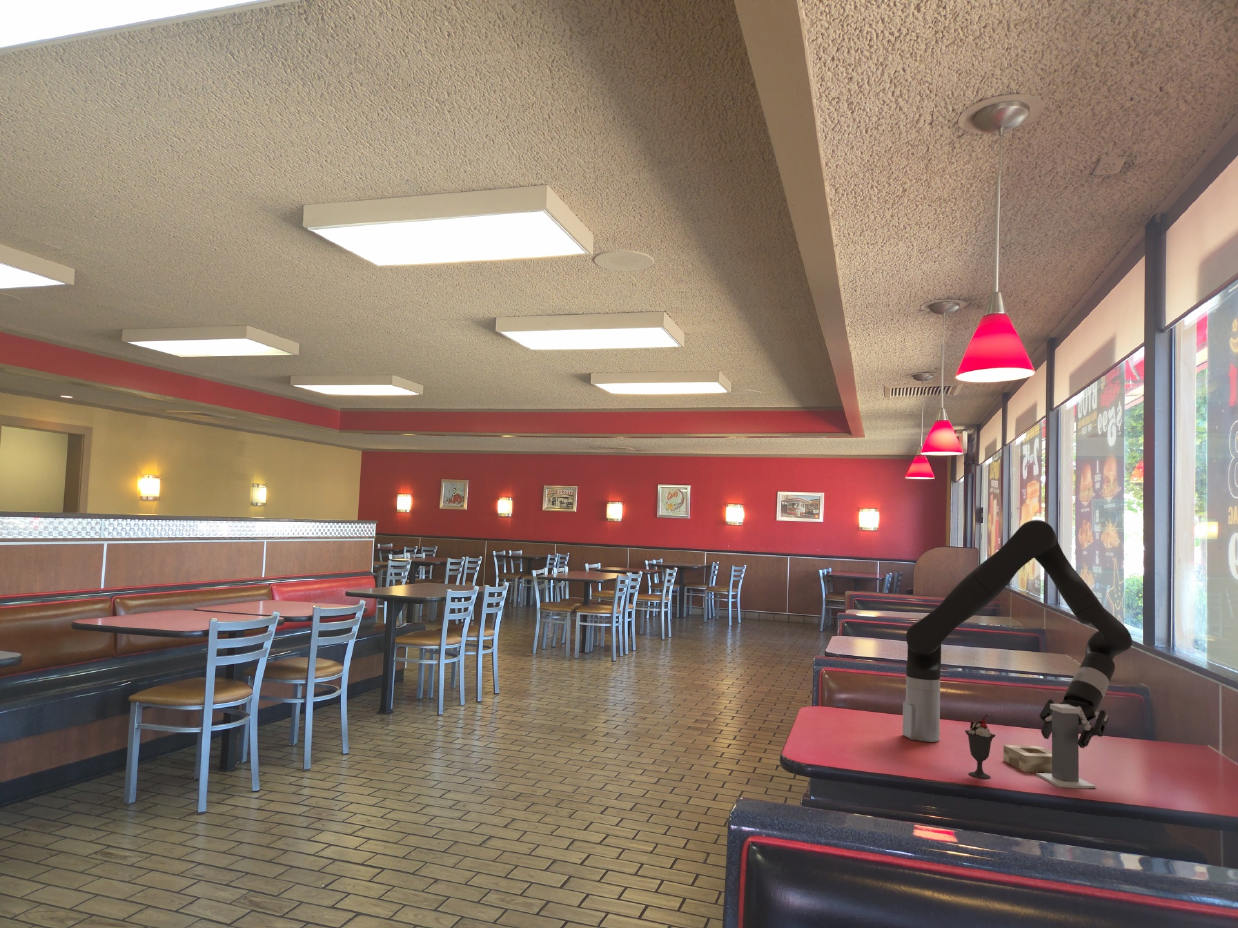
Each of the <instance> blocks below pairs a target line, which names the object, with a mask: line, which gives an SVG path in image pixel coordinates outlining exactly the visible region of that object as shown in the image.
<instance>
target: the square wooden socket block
mask: <svg viewBox="0 0 1238 928" xmlns="http://www.w3.org/2000/svg"><path fill="white" fill-rule="evenodd" d="M1003 761H1005V762H1006V763H1008V764H1009V765H1011V766H1012V767H1015V768H1017V769H1018V768H1019V769H1018V770H1020V769H1021V771H1022V770H1023V771H1022V772H1024V773H1038V772H1044V773H1052V750H1049V749H1047V748H1046V747H1043V746H1038V745H1021V744H1020V745H1019V744H1018V745H1015V744H1003Z"/></svg>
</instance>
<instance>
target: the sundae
mask: <svg viewBox="0 0 1238 928" xmlns="http://www.w3.org/2000/svg"><path fill="white" fill-rule="evenodd" d="M988 717H989V715H988V714H985V715H984V716H983V718H982V719H980V720H979V721H975V722H974V721H971V722H970V726H969V729H965V730H964V732H965V734H966V735H967V738H968V744H969V745H968V746H969V752H970V755H971V756H972V758H973V759H974V760H975V761H976V770H975V771H969V772H968V775H969V776H970V777H972V778H975V777H977V778H976V779H980V778H982V779H981V780H990V779H991V778H992V776H991V775H990V774H987V773H985V772H984V769H983V762H984V761H986V760H987V759H988V758H990V757H989V755H990V752H991V744H992V740H993V739H994V738H995V737H996V734H993V733H992V732H991V731H990V729H989V728H988V725H987V723H986V720H985V719H986V718H988ZM989 778H990V779H989Z"/></svg>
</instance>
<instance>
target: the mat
mask: <svg viewBox="0 0 1238 928" xmlns="http://www.w3.org/2000/svg"><path fill="white" fill-rule="evenodd" d="M1035 773H1036V776H1037V777H1038V778H1040V777H1042V778H1043V780H1044V779H1045V782H1046V781H1047V782H1048V781H1049V782H1048V783H1049V784H1052V785H1054V786H1055V787H1057V788H1067V789H1068V788H1070V789H1071V788H1072V789H1089V788H1096V789H1097V786H1096V785H1095V784H1092V783H1091V782H1088V781H1086V780H1084V779H1082V778H1080V777H1079V782H1063V781H1061V780H1059V779H1057V778H1055V777H1053V776H1052V773H1038V772H1035ZM1042 778H1041V779H1042Z"/></svg>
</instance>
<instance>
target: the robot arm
mask: <svg viewBox="0 0 1238 928" xmlns="http://www.w3.org/2000/svg"><path fill="white" fill-rule="evenodd" d="M1033 559H1035V561H1036V562H1038V563H1039V565H1040V566H1041V567H1042V569H1044V571H1045V572H1046V573H1047V575H1048V577H1049V578H1050V579H1051V581H1052V583H1053V584H1054V585H1055V587H1056V589H1057V591H1058V592H1059V593H1060V596H1061V597H1062V599H1063V600H1064V602H1065V603H1066V605H1067V606H1068V608H1069V609H1070V611H1071V612H1072V613H1073V615H1074V617H1075V618H1076V619H1077V621H1078V622H1079V623H1080V624H1082V625H1090V624H1091V625H1092V626H1093V627H1094V628H1095V629H1096V630H1098V631H1096V632H1094V633H1093V634H1092V635H1091V636H1090V637H1089V639H1088V641H1087V643H1086V646H1085V652H1084V658H1083V660H1082V662H1081V664H1080V666H1079V668H1078V670H1077V671H1076V673H1075V674H1074V676H1073V678H1072V679H1071V681H1070V683H1069V685H1068V687H1067V689H1066V691H1065V693H1064V696H1063V700H1062V701H1061V702H1059V703H1058V702H1054V700H1053V699H1048V700H1047V701H1046V703H1045V705H1044V707H1043V708H1042V710H1041V712H1040V713H1039V715H1038V716H1039V718H1040V720H1041V722H1042V723H1043V726H1042V727H1041V730H1040V733H1041V735H1042V737H1043V739H1045V740H1049V739H1050V737H1051V736H1052V709H1050V704H1068V705H1071V706H1074V707H1077V708H1080V714H1078V727H1079V726H1083V727H1084V730H1082V732H1081V733H1080V736H1079V737H1078V738H1079V740H1078V745H1079V748H1081V749H1085V748H1087V747H1088V746H1089V744H1090V741H1091V739H1092V738H1093V737H1094V736H1097V737H1099V738H1100V737H1103V735H1105V734H1104V733H1105V731H1106V728H1107V725H1108V723H1109V720H1110V719H1109V716H1108V714H1107V712H1106V710H1103V709H1101V710H1099V709H1100V706H1101V704H1102V702H1103V700H1104V697H1105V695H1106V693H1107V691H1108V688H1109V684H1110V682H1111V679H1112V677H1113V675H1114V673H1115V669H1116V664H1115V662H1114V659H1115V658H1116V656H1119V655H1120V654H1122V653H1124V652H1126V651H1128V650H1129V649H1130V648H1131V647H1132V645H1133V638H1132V634H1131V633H1130V631H1129V629H1128V628H1127V627H1126V626H1125V625H1124V624H1123V623H1122V622H1121V621H1120V620H1118V619H1117V618H1116V617H1115V616H1114V615H1113V614H1112V613H1111V612H1110V611H1109V610H1107V609H1106V608H1105V607H1104V606H1103V604H1102V602H1100V600H1099V599H1098V597H1097V596H1096V595H1095V593H1094V592H1093V591H1092V590H1091V588H1090V587H1089V585H1088V584H1087V583H1086V582H1085V580H1084V579H1083V578H1082V576H1080V575H1079V573H1078V572H1077V571H1076V570H1075V569H1074V567H1073V566H1072V564H1071V563H1070V561H1069V560H1068V558H1067V556H1066V555H1065V553H1064V551H1063V549H1062V547H1061V545H1060V543H1059V541H1058V540H1057V534H1056V532H1055V530H1054V528H1053V526H1052V525H1051V524H1049V523H1048V522H1047V521H1045V520H1043V519H1042V520H1041V519H1031V520H1028V521H1026V522H1024V523H1023V524H1022V525H1020V526H1019V527H1018V528H1017V530H1016V531H1015V532H1014V533H1013V535H1011V537H1010V538H1009V539H1008V540H1007V541H1006V542H1005V543H1004V544H1003V545H1002V547H1001V548H1000V549H998V550H997V551H996V552H994V553H993V554H992V555H991V556H989V557H988V558H986V559H985V560H984V561H983V562H981V563H980V564H979V565H977V567H976V568H975V569H973V570H972V571H971V572H970V573H968V574H967V575H966V576H965V577H964V578H962V580H961V581H960V582H959V583H957V584H956V586H955V587H953V589H952V590H951V591H950V592H949V594H948V595H946V597H945V598H944V599H943V600H942V602H941V603H940V604H939V605H938V606H937V607H936V608H935V609H933V610H932V611H931V612H930V613H928V614H926V616H924V617H923V618H922V619H919V621H916V622H913V623H912V624H911V625H910V626H909V627H908V629H907V631H906V634H905V642H906V644H907V655H906V656H907V657H906V667H905V670H906V672H905V675H906V676H905V679H906V680H905V700H904V701H902V735H903V736H904V737H906V738H907V739H909V740H910V741H911V740H912V741H919V742H927V743H936V742H939V741H940V740H941V739H940V735H941V731H940V728H941V725H940V721H941V719H940V718H941V717H940V716H941V715H940V713H941V670H942V669H941V668H942V643H943V641H945V640H946V639H947V637H948V636H949V635H951V633H952V632H953V631H954V630H955V629H956V628H958V626H960V625H962V624H963V623H964V622H966V621H968V620H969V619H970V618H972V617H974V616H975V615H976V614H977V613H978V612H980V611H981V610H982V609H984V608H985V607H986V606H987V605H989V604H990V603H991V602H992V601H993V600H994V599H996V598H997V597H998V596H999V595H1000V594H1001V593H1002V592H1003V591H1004V589H1005V588H1007V586H1008V584H1009V583H1010V582H1011V580H1012V579H1013V578H1014V577H1015V575H1016V574H1017V573H1018V572H1019V571H1020V569H1022V568H1023V567H1024V566H1025V565H1027V564H1028V563H1029V562H1030V561H1032V560H1033ZM1094 719H1096V720H1095V724H1094V726H1093V727H1092V726H1091V725H1090V721H1092V720H1094Z"/></svg>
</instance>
